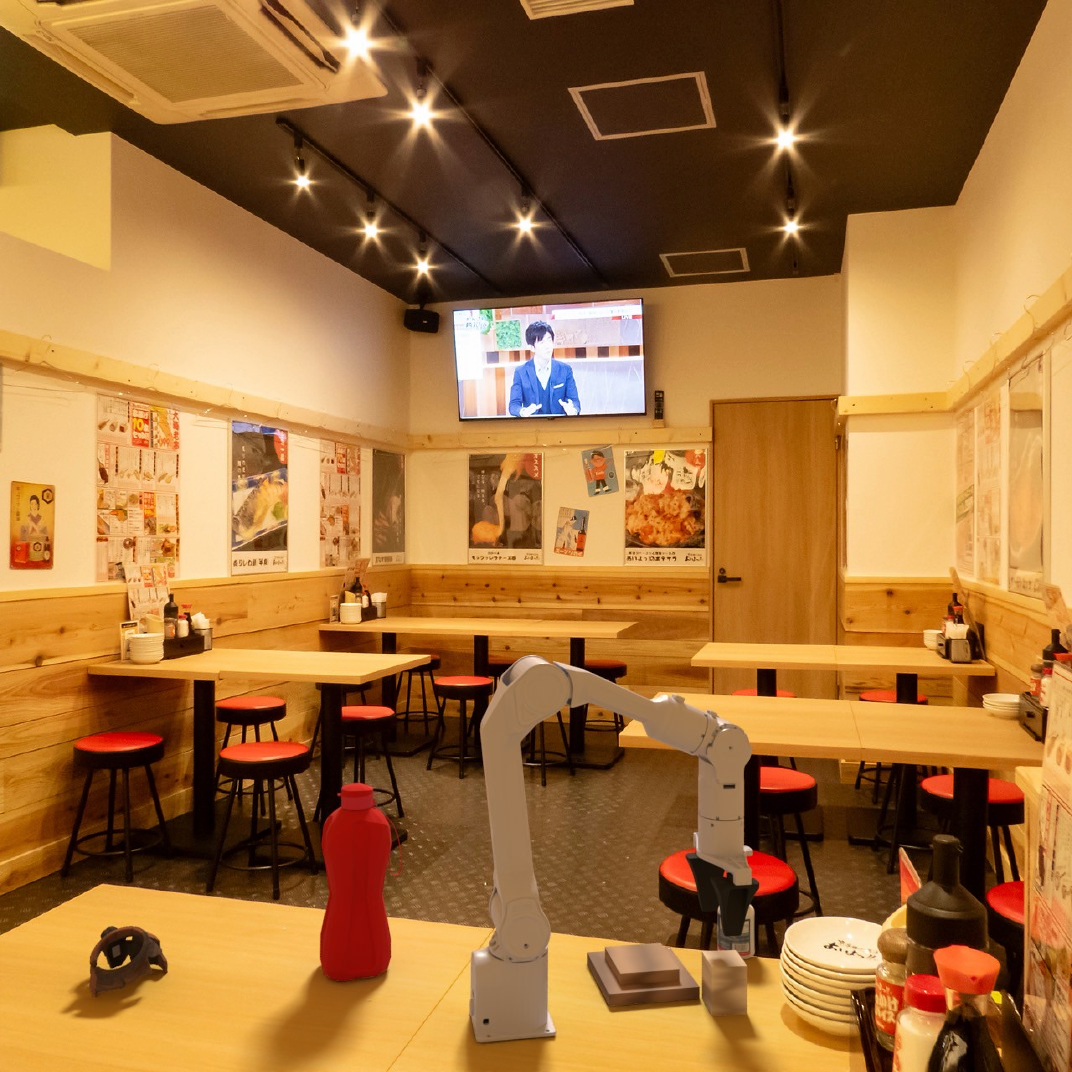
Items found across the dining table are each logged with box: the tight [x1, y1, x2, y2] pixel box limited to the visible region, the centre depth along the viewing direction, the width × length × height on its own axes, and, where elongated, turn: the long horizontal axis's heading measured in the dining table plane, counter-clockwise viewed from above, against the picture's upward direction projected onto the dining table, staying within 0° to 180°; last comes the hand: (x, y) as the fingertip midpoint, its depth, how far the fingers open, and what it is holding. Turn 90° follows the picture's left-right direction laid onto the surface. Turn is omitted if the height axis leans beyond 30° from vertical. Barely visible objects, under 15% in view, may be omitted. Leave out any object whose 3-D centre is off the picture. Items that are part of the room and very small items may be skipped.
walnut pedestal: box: [586, 942, 701, 1007], centre depth 118 cm, size 12×12×3 cm
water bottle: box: [319, 782, 403, 983], centre depth 122 cm, size 9×11×25 cm
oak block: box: [701, 950, 748, 1017], centre depth 112 cm, size 4×4×6 cm
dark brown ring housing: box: [88, 925, 169, 998], centre depth 117 cm, size 12×10×8 cm
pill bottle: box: [716, 904, 756, 960], centre depth 127 cm, size 5×5×9 cm
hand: (720, 922), depth 112 cm, fingers open, 7 cm apart
